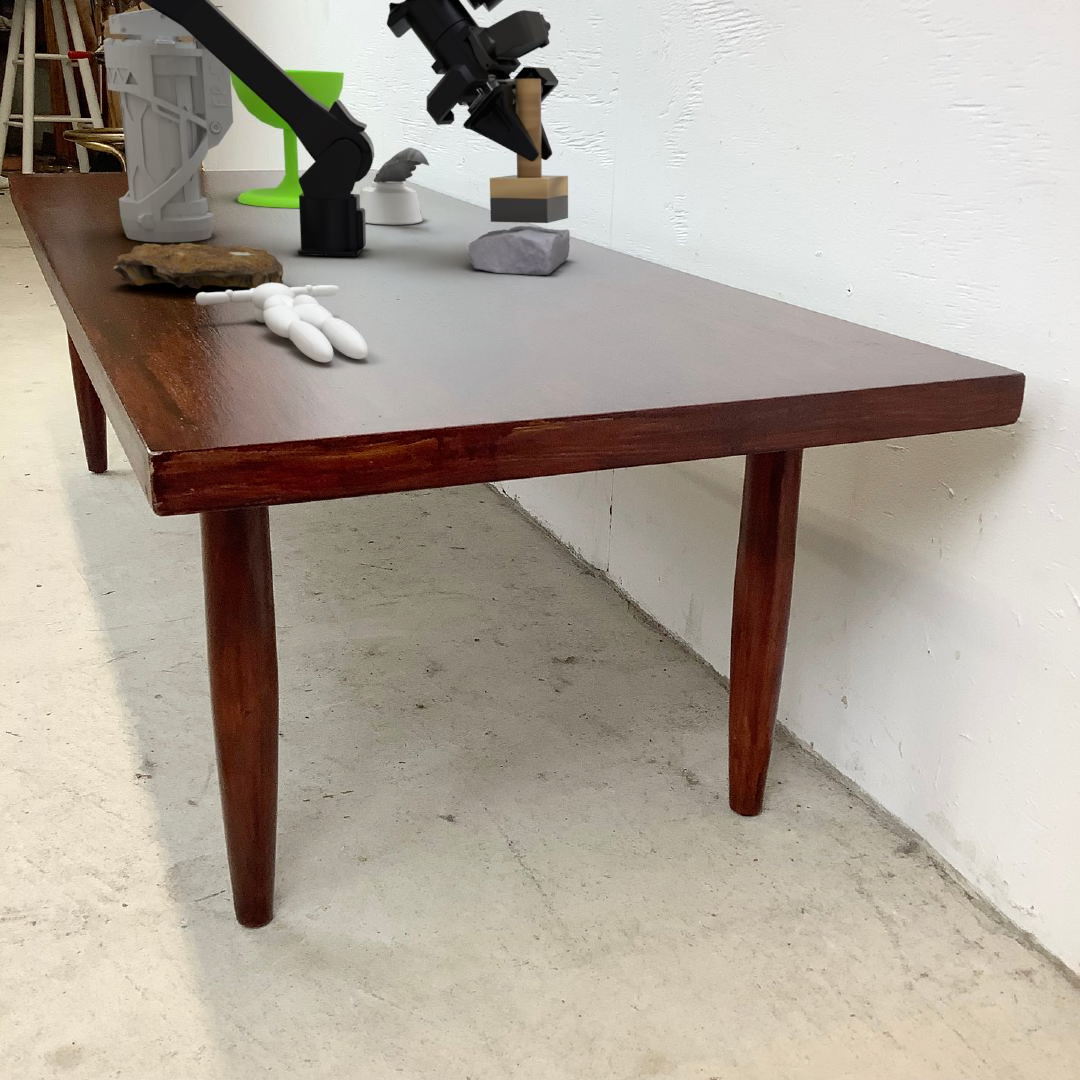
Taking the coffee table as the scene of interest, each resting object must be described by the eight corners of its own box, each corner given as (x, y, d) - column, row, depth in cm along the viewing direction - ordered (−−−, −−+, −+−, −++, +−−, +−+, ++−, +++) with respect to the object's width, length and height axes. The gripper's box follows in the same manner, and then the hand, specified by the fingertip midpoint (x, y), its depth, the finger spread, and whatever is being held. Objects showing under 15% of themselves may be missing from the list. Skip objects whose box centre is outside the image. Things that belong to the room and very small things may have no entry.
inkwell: (405, 215, 162) (404, 139, 158) (466, 232, 148) (466, 150, 144) (343, 217, 157) (341, 139, 154) (400, 235, 143) (399, 151, 140)
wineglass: (337, 209, 165) (333, 73, 158) (225, 205, 165) (216, 69, 158) (355, 197, 180) (352, 72, 173) (252, 193, 180) (245, 68, 173)
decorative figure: (422, 336, 85) (332, 268, 98) (262, 350, 79) (189, 276, 93) (420, 380, 87) (332, 307, 100) (263, 398, 81) (191, 318, 94)
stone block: (465, 287, 122) (557, 274, 120) (457, 240, 120) (550, 226, 118) (491, 273, 133) (576, 261, 131) (484, 230, 131) (570, 217, 129)
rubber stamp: (547, 223, 120) (546, 77, 115) (490, 221, 122) (487, 78, 117) (568, 218, 125) (568, 79, 121) (513, 217, 128) (511, 80, 123)
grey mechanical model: (135, 244, 130) (112, -2, 120) (113, 231, 138) (89, 0, 128) (248, 239, 136) (234, 5, 126) (220, 227, 144) (205, 7, 135)
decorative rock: (124, 307, 100) (294, 303, 107) (121, 259, 99) (294, 258, 105) (106, 277, 110) (264, 275, 116) (103, 232, 108) (264, 234, 114)
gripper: (453, -29, 109) (551, 103, 108) (546, -14, 124) (632, 101, 124) (385, 59, 115) (478, 183, 115) (481, 62, 131) (563, 172, 130)
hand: (542, 157), depth 121 cm, fingers closed on rubber stamp, 2 cm apart
